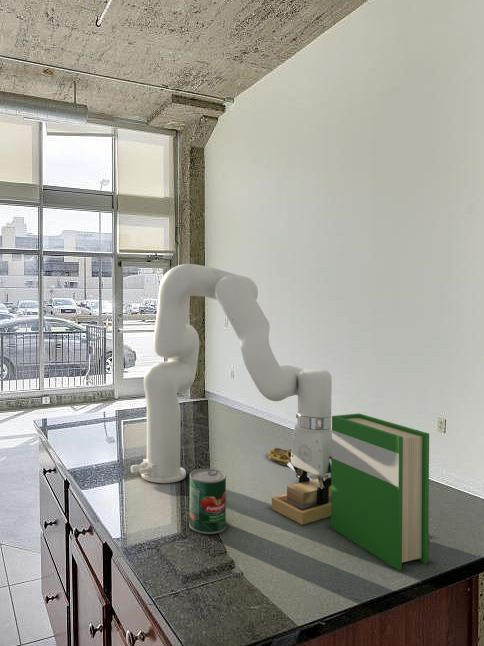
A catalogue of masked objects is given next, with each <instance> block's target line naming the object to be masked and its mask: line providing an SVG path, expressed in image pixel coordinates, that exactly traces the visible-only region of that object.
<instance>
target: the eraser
mask: <svg viewBox="0 0 484 646" xmlns="http://www.w3.org/2000/svg"><path fill="white" fill-rule="evenodd" d="M323 479H324V481H325V478H323ZM317 487H319V482H318V479H315V480H310V481H306V482H302V483H295V484H291V485H286V494H287V502H289V503H291V504H293V505H295V506H297V507H299V508H301V509H306V508H309V507H313V506H316V505H318V504H317ZM329 502H331V487H329Z"/></svg>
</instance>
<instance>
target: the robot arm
mask: <svg viewBox="0 0 484 646" xmlns="http://www.w3.org/2000/svg"><path fill="white" fill-rule="evenodd" d="M158 287H159V288H158V289H159V290H158V301H157V309H156V310H157V311H156V317H155V324H154V331H153V340H152V344H153V345H152V347H153V350H154V352H155V354H156V355H157V356H158V357H161V358H162V359H163V358H164V359H167V360H166V361H161V362H157V363H154V364H153V365H151V366H150V367H148V368H147V370H146V371H145V373H144V376H143V389H144V396H145V403H146V458H143V459H142V462H141V463H139V464H134V465H130V467H129V468H130V469H129V470H130V473H132V474H134V473H139V475H140V476H141V478H142V479H143V480H145V481H148V482H151V483H155V484H171V483H177V482H180V481H182V480H184V479H185V478H186V477H187V470H186V469H185V468H184V467H182V466H181V452H182V451H181V449H182V448H181V443H182V441H181V439H182V438H181V437H182V436H181V434H182V433H181V431H182V429H181V428H182V426H181V425H182V424H181V423H182V414H181V413H182V411H181V404H180V401H179V398H178V394H180V393H183V392H185V391H187V390H189V389H190V388H191V387H192V386H193V384H194V382H195V379H196V374H197V368H198V367H197V366H198V359H199V353H200V352H199V351H200V337H199V333H198V331H197V330H196V329H195V327H193V325H191V324H189V323H187V322H188V315H189V306H188V300H187V299H188V297H192V296H193V297H205V298H209V299H211V300H212V299H213V300H216V301H217V302H218V303H219V305H220V307H221V309H222V311H223V312H224V314H225V316H226V318H227V319H228V321H229V323H230V325H231V326H232V329H233V331H234V332H235V334H236V336H237V338H238V340H239V341H238V342H239V347H240V351H241V355H242V359H243V362H244V365H245V368H246V370H247V372H248V374H249V376H250V377H251V380H252V381H253V384H254V385H255V386H256V388H257V390H258V391H259V393H260V394H261V395H262V396H263V397H265V398H266V399H267V400H268V401H272V402H280V401H283V400H285V399H287V398H289V397H293V396H297V413H296V414H295V418H296V419H297V424H295V425H294V429H293V431H292V438H291V448H290V449H291V457H290V458H289V461H290V463H291V464H292V466H293V468H294V470H295V471H294V470H293V471H294V472H295V476H296V479H298V480H297V481H298V483H302V482H306V481H310V478H309V477H307V476H308V473H311V474H314V475H316V476H317V477H318V482H319V487H317V504H318V505H323V504H327V503H328V502H329V487H331V477H332V391H333V390H332V389H333V388H332V386H333V383H332V381H333V379H332V374H331V372H329V371H328V370H325V369H320V368H303V367H302V368H301V367H297V366H293V365H287V364H285V365H283V364H282V365H280V364H279V362H278V361H277V359H276V357H275V355H274V353H273V350H272V347H271V345H270V338H269V335H270V322H269V320H268V318H267V317H266V315H265V314H264V311H263V309H262V308H261V306H260V304H259V302H258V301H257V299H258V297H259V290H258V286H257V284H256V282H255V281H254V280H253V279H252V278H250V277H248V276H245V275H240V274H236V273H233V272H229V271H227V270H222V269H218V268H216V267H212V266H207V265H201V264H195V263H182V264H179V265H176V266H174V267H172V268H170V269H169V270H168V271H166V273H165V274H164V275H163V277H162V278H161V280H160V282H159V286H158ZM329 473H331V477H330V474H329ZM323 476H324V477H325V481H324V479H323ZM298 483H297V484H298Z"/></svg>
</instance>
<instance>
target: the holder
mask: <svg viewBox="0 0 484 646" xmlns="http://www.w3.org/2000/svg"><path fill="white" fill-rule="evenodd" d="M271 509H272V510H273V511H275V512H277V513H279V514H281V515H283V516H285V517H286V518H288V519H290V520H292V521H295V522H296V523H298V524H300V525H306V524H310V523H313V522H316V521H319V520H324V519H326V518H329V517H331V502H328V503H327V504H323V505H316V506H313V507H309V508H306V509H301V508H299V507H297V506H295V505H293V504H291V503H289V502H287V493H285V494H281V495H277V496H273V497H271Z"/></svg>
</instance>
